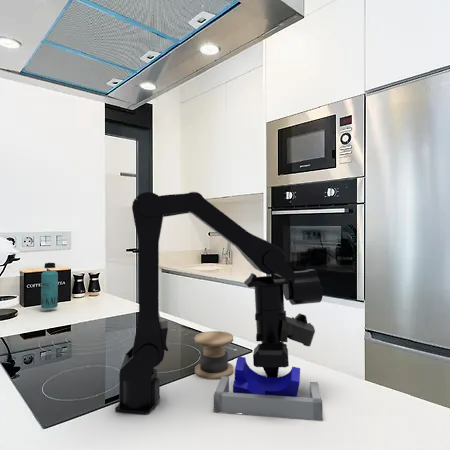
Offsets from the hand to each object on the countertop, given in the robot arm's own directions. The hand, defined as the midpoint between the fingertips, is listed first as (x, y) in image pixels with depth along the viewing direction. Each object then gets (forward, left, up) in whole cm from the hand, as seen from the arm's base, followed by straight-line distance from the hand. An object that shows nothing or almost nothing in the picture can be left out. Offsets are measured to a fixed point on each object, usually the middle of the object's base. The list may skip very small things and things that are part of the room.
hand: (273, 384), depth 72 cm
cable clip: (-2, -2, -1) cm, 3 cm away
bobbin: (-14, +9, -2) cm, 17 cm away
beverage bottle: (-94, +62, -2) cm, 113 cm away
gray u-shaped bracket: (-1, -5, -2) cm, 5 cm away
